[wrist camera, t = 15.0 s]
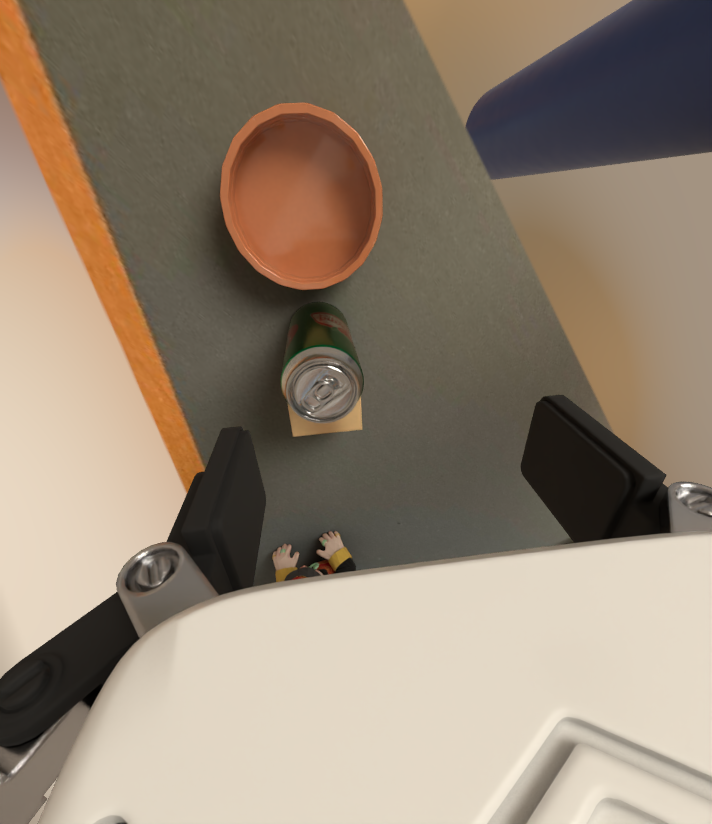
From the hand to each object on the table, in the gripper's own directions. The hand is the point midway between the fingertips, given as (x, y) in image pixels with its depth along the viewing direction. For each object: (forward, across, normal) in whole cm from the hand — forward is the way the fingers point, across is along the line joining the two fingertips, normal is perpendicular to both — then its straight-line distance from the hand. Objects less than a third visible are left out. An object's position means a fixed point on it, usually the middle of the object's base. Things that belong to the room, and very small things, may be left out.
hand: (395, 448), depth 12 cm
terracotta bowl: (+21, +3, -7) cm, 22 cm away
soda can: (+21, +2, +3) cm, 22 cm away
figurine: (+21, +6, +31) cm, 38 cm away
